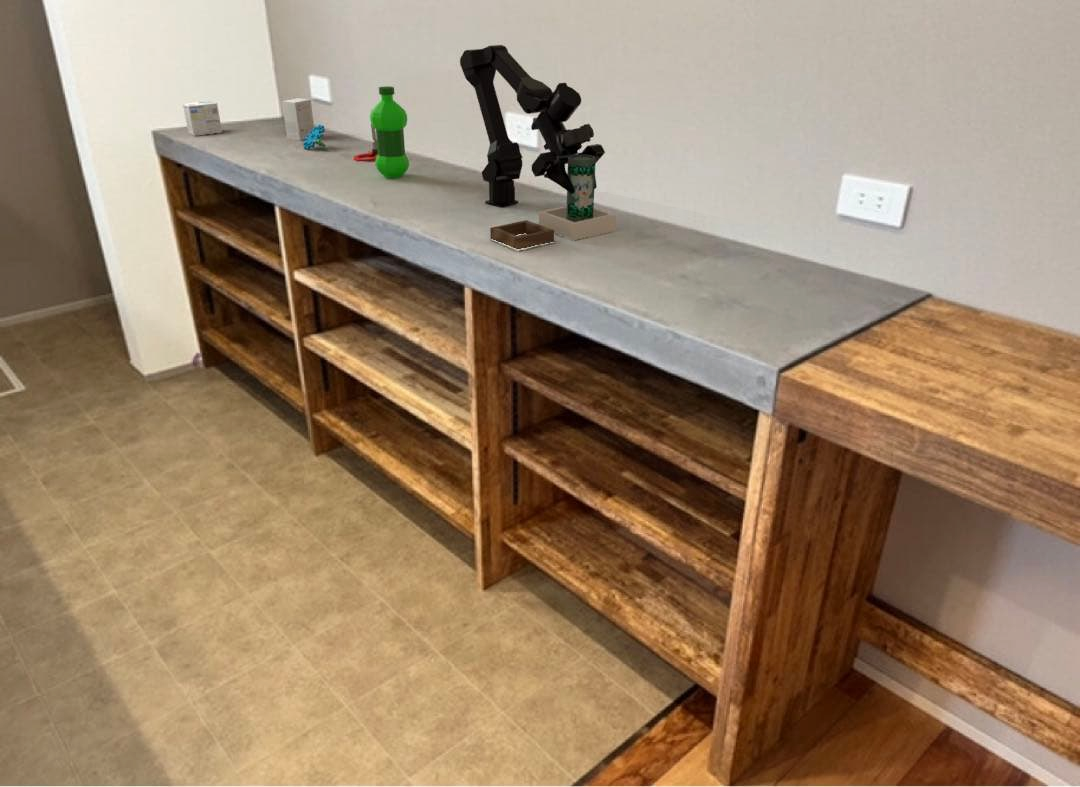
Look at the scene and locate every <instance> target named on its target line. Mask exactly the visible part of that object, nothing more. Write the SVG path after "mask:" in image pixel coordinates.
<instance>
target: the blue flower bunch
mask: <svg viewBox="0 0 1080 787" xmlns="http://www.w3.org/2000/svg"><path fill="white" fill-rule="evenodd" d="M325 131H326V129H325V125H323V124H317V126H314V128H313V131H310V132H309V133H308V134H309V137H307V136H306V137H305V139H304V140H305V141H303V143H302V145H303V147H302V148H303V149H304V150H307V151H309V150H310V149H313V148H315V146H316V145H317V146H319V147H322V148H323V149H324V150H325V151H327V150H328V148H327V146H326V144H325V143H324V142H323V141H322V140H321V139H322V138H323V137H324V133H325Z"/></svg>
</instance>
